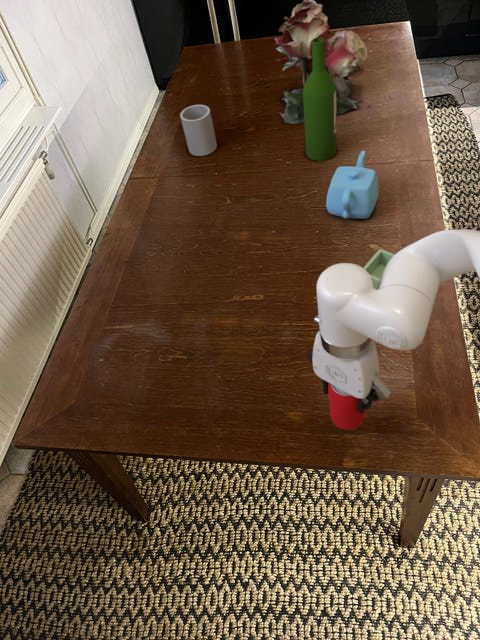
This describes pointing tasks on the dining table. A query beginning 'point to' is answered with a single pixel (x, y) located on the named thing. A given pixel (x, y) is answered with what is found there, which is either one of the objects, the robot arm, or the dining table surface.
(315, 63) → the wine bottle
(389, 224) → the dining table surface
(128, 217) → the dining table surface
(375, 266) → the can holder
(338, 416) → the beverage can
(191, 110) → the cup
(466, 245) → the robot arm
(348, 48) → the rose bouquet
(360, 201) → the teapot
